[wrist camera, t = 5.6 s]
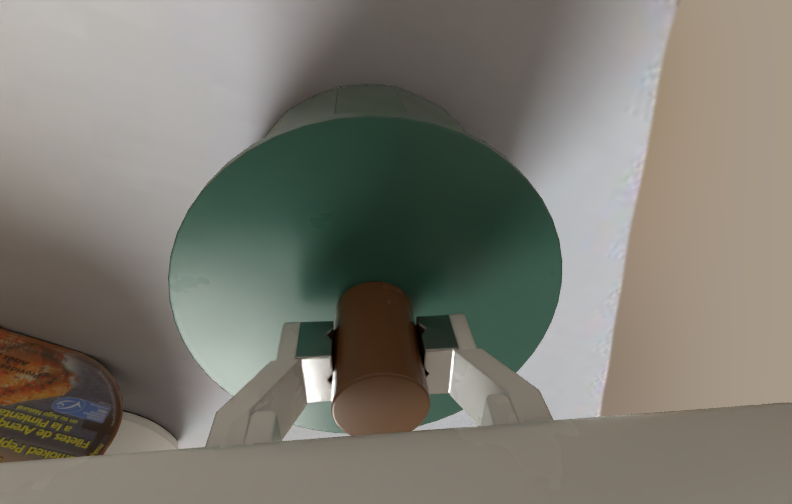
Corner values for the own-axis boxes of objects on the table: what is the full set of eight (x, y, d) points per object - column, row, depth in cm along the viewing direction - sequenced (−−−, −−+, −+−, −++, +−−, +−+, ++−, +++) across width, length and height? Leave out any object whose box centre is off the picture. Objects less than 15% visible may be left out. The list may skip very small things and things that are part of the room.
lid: (127, 108, 12) (-8, 181, 7) (587, 103, 13) (713, 163, 8) (222, 420, 18) (183, 557, 14) (518, 399, 20) (567, 519, 15)
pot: (226, 85, 19) (162, 132, 12) (497, 83, 20) (569, 125, 13) (267, 306, 25) (238, 414, 18) (471, 296, 26) (512, 395, 19)
